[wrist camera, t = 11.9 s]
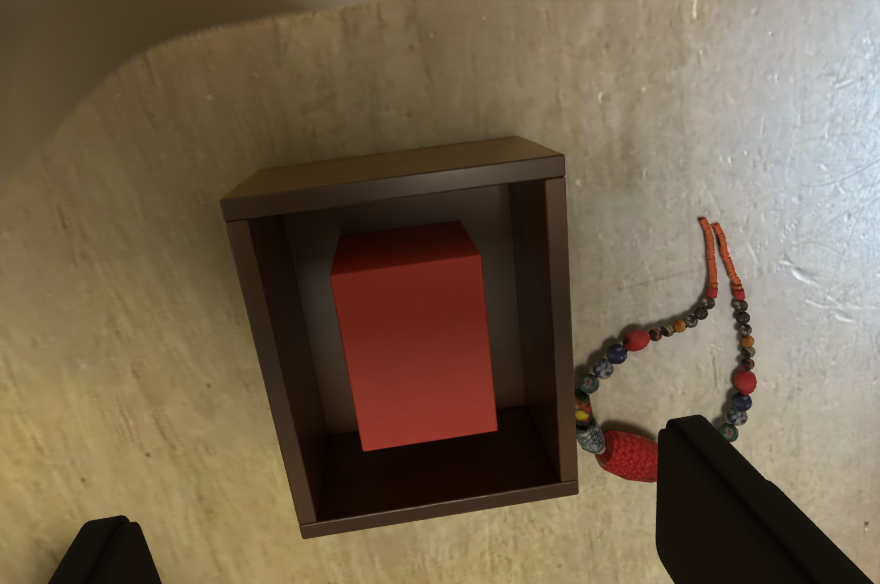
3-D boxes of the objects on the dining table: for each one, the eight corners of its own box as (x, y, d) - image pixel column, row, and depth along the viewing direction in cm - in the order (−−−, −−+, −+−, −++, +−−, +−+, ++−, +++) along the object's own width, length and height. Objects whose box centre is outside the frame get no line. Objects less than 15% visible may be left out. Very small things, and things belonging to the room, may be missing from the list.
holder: (258, 168, 21) (218, 199, 16) (518, 135, 21) (565, 154, 16) (317, 441, 25) (302, 540, 19) (537, 408, 25) (579, 494, 20)
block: (338, 236, 21) (329, 275, 17) (460, 219, 21) (481, 254, 17) (365, 385, 23) (362, 452, 19) (476, 368, 24) (498, 431, 19)
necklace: (534, 441, 25) (550, 467, 24) (645, 194, 23) (671, 201, 21) (689, 485, 27) (716, 512, 25) (805, 261, 25) (843, 272, 23)
